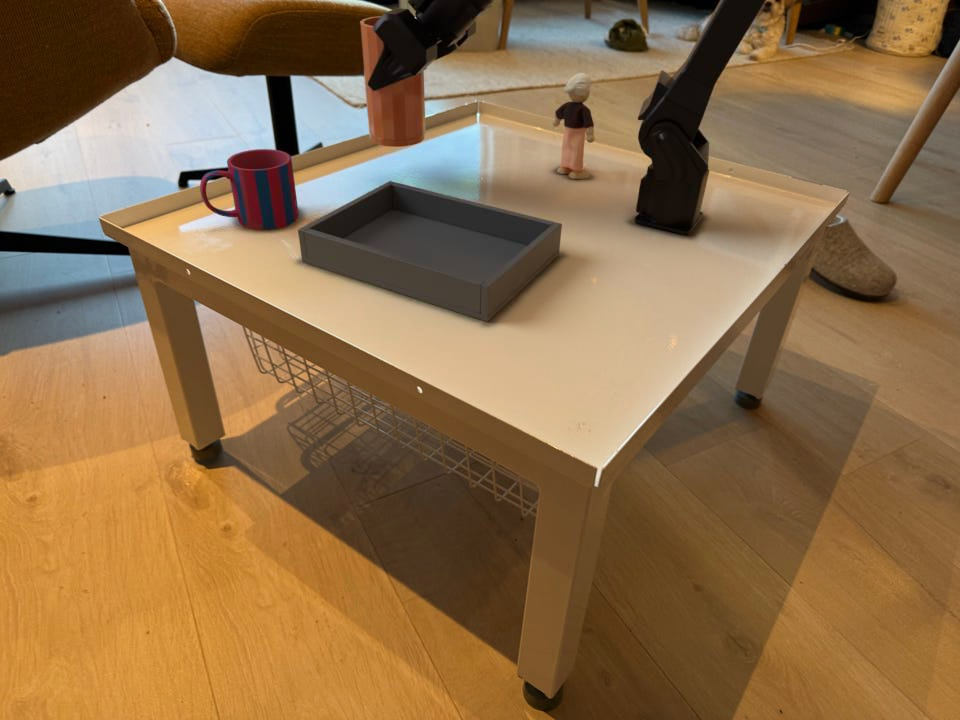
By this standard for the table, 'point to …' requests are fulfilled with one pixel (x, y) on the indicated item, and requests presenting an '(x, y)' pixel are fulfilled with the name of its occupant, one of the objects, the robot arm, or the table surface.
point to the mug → (259, 189)
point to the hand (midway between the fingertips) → (383, 80)
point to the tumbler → (391, 99)
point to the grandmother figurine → (575, 126)
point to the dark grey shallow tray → (433, 247)
